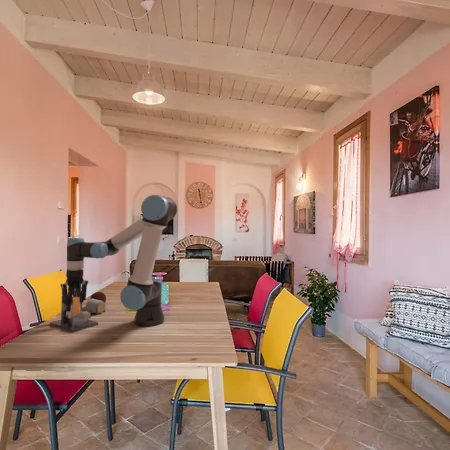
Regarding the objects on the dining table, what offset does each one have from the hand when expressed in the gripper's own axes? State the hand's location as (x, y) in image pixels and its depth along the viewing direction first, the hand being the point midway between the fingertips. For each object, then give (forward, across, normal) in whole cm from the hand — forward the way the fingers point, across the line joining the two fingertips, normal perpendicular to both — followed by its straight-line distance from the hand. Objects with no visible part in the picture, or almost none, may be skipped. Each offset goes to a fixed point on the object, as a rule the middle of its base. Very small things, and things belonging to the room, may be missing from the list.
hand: (74, 316), depth 149 cm
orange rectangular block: (+1, 0, 0) cm, 1 cm away
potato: (+4, -27, -18) cm, 33 cm away
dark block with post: (+4, 0, 0) cm, 4 cm away
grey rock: (+3, 0, +8) cm, 8 cm away
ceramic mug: (+4, -20, -9) cm, 22 cm away
